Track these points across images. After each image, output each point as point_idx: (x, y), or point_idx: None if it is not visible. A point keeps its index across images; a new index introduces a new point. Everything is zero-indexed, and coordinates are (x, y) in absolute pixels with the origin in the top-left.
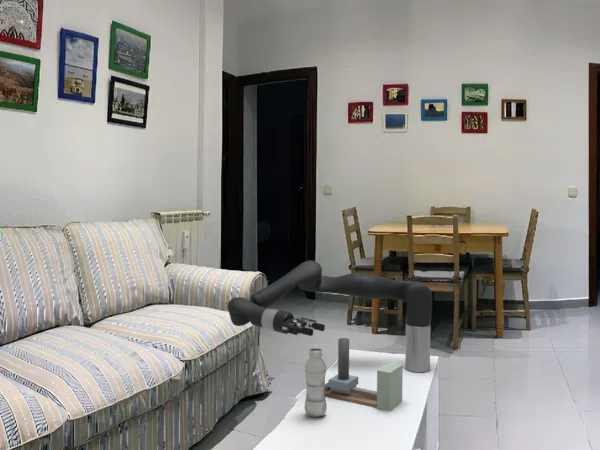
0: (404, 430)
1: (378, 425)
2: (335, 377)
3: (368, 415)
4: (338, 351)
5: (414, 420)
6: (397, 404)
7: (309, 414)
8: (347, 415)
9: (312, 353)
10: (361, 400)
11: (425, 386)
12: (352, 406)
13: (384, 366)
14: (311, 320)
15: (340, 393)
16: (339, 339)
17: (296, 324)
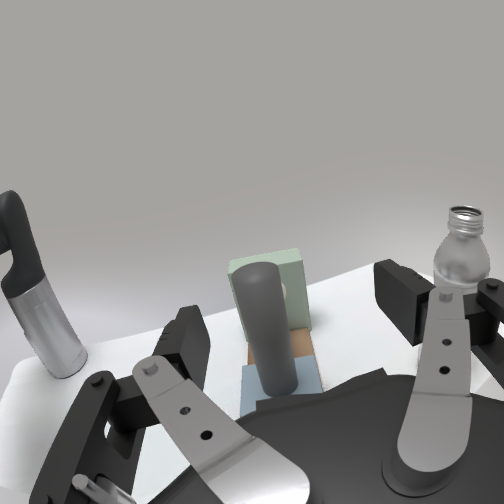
0: (353, 276)
1: (369, 296)
2: None
3: (351, 321)
4: (281, 321)
5: (312, 285)
6: None
7: None
8: (383, 337)
9: (478, 215)
10: (309, 352)
11: (154, 330)
12: (338, 359)
13: None
14: (103, 402)
15: None
16: (264, 279)
17: (467, 333)
